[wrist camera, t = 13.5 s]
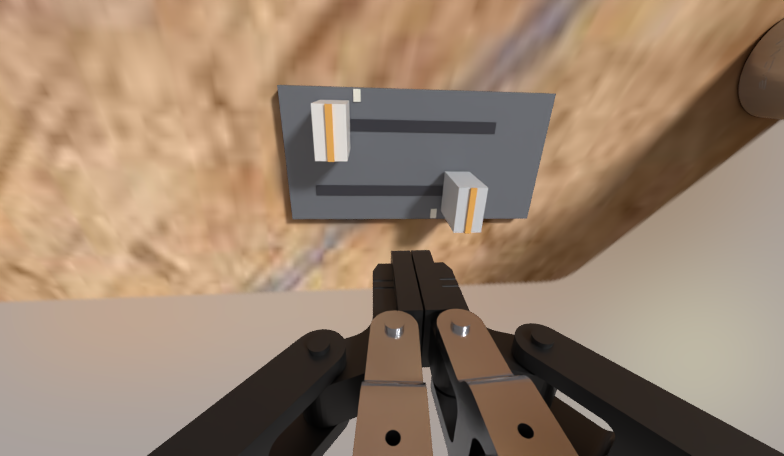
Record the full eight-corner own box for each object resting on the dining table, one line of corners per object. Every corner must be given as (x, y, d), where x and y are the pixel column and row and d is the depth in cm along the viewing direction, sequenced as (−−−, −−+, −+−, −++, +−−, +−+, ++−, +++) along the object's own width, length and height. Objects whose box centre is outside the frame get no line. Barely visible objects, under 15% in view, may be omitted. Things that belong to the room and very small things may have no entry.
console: (546, 93, 29) (556, 93, 27) (520, 212, 34) (527, 219, 32) (281, 84, 27) (276, 85, 25) (295, 213, 32) (292, 219, 31)
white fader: (349, 100, 26) (345, 104, 21) (350, 148, 28) (347, 162, 23) (320, 99, 26) (310, 103, 21) (323, 148, 28) (314, 161, 23)
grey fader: (469, 171, 30) (489, 188, 25) (464, 210, 31) (481, 233, 27) (444, 171, 29) (459, 188, 25) (440, 210, 31) (454, 233, 26)
